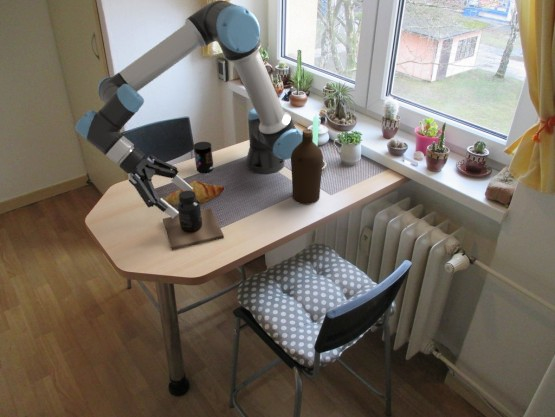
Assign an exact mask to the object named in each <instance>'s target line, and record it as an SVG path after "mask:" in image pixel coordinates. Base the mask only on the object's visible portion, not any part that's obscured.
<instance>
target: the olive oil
mask: <svg viewBox="0 0 555 417" xmlns="http://www.w3.org/2000/svg"><path fill="white" fill-rule="evenodd" d="M313 132H314V131H313V129H309V128H307V129H303V130H302V142H301V143H300V144H299V145H298V146H296V147H295V148H294V150H293V152H292V155H291V159H290V170H291V186H292V192H291V193H292V194H291V195H292V199H293V201H294V202H296V203H298V204H302V205H311V204H312V205H313V204H315V203H317V202H319V200H320V197H321V183H322V173H323V164H324V162H323V161H324V156H323V151H322V150H321V148H320V147H319V146H318V145H317V144H316V143H315V142H314V141H313V140H314V139H313V138H314V137H313V135H314V134H313Z"/></svg>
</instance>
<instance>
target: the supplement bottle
mask: <svg viewBox="0 0 555 417" xmlns="http://www.w3.org/2000/svg"><path fill="white" fill-rule="evenodd" d="M176 206H177V207H176V208H177V211H178V212H179V213H178V214H177V215H179V220H180V226H181V229H182V230H183V231H184V232H188V233H192V232H196V231H198V230H200V229H201V227H202V217H201V210H202V209H201V204H200V203H199V201H198V200H197V199H196V197H195V193H194V192H193V191H183V192H181V193H180V194H179V202H178V205H176Z"/></svg>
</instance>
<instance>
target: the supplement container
mask: <svg viewBox="0 0 555 417" xmlns="http://www.w3.org/2000/svg"><path fill="white" fill-rule="evenodd" d="M192 146H193V154H194V161H195V162H194V163H195V168H196V171H197V172H198V173H199V174H210V173H211V172H213V170H214V167H215V166H214V160H213V158H214V157H213V147H212V143H211V142H209V141H199V142H196V143H194V144H193V145H192Z"/></svg>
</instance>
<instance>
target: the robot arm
mask: <svg viewBox="0 0 555 417" xmlns="http://www.w3.org/2000/svg"><path fill="white" fill-rule="evenodd" d="M260 36H261V27H260V23H259V21H258V18H257V17H256V15H255V14H254V13H252V11H250V10H249V9H247V8H246V7H244V6H242V5H237V4H234V3H232V2H230V1H227V0H215V1H211V2H210V3H207V4H205V5H204V6H203V7H201V8H199V9H198V10H196V12H194V13H193V14H192V15H190V16H188V17H187V18H186V19H185V22H184V24H183V25H182V26H181V27H180V28H178V29H177V30H175V31H174V32H173V33H171V34H170V35H168V36H166V37H165V39H163V40H162V41H160V42H159V43H158V44H156V45H155V46H153V47H152V48H151V49H149V50H148V51H147V52H145V53H144V54H143V55H141V56H139V57H138V58H137V59H135V60H134V61H132V63H130V64H129V65H127V66H126V67H125V68H123V69H122V70H120V71H119V72H117V73H116V74H114V75H113V76H105V77H103V78H102V79H100V80H99V82H98V84H97V93H98V96H99V98H100V100H101V101H102V102H103V103H104V105H103V106H102V107H101V108H100V109H99V110H98V111H94V110H93V109H91V110H88V111H86V113H84V115H83V116H82V117H81V118H80V119H79V120H78V121H77V122H76V124H75V130H76V132H77V133H78V134H79V135H81V137H83V138H84V139H85V141H87V142H88V143H89V144H91V145H92V146H93V147H95V149H98V151H100V152H101V153H102V154H103V155H104V156H106V157H107V158H108V159H110V160H111V161H112V162H113V163H114V164H116V165H118V164H119V166H118V167H119V168H120V169H121V170H123V171H124V172H125V173H126V174H132V176H131V177H130V178H129V179H128V182H129V183H130V184H131V185H132V186H133V187H134V188H135V190H136V191H137V193H138V195H139V196H140V198H141V199H142V201H143V202H144V203H145V205H146V206H147V208H152V207H157V208H158V210H160V211H161V212H163V213H165V214H166V215H167V216H169V217H171V218H172V219H173V218H174V217H175V216H177V215H179V214H178V213H179V212H178V209H176V208H175V207H173V205H172V204H168V203H167V202H166V201H165V200H163V199H164V198H162V197H161V198H160V197H159V196H158V193H157V190H156V189H155V187H154V185H153V182H152V180H153V177H154V176H158V177H164V178H168V179H171V183H173V184H175V186H177V187H178V188H179V189H182V190H183V191H191V190H192V189H193V188H192V187H191V186H190V185H189V183H187V182H186V181H185V179H184V178H183V177H181V176H180V175H179V169H178V168H177V166H174V165H172V164H170V163H168V162H166V161H163V160H161V159H159V158H157V157H156V156H154V155H153V154H150V155H148V156H147V157H146V154H145V153H144V152H143V151H142V150H140V148H139V147H134V146H135V144H134V143H132V142H131V141H130V140H129V139H128V138H127V137H126V136H124V135H123V134H122V133H121V132H120V131H121V130H122V129H123V128H124V126H125V125H126V124H127V123H128V122H129V121H130V120H131V119H132V118H133V116H134V115H135V114H136V113H138V111H139V110H140V108H141V107H142V106H143V105H144V103H145V100H144V97H143V96H142V95H141V94H139V91H140V90H142V89H143V88H144V87H146V86H147V85H148V84H150V83H151V82H153V81H154V80H155V79H157V78H158V77H160V76H161V75H162V74H164V73H165V72H167V71H168V70H170V69H171V68H172V67H174V66H175V65H176V64H177V63H179V62H180V61H181V60H183V59H185V58H186V57H187V56H189V55H190V54H192V53H193V52H194V51H195V50H197V49H198V48H200V47H201V48H206V47H207V46H208V45H209V44H211V43H214V42H216V43H218V45H219V48H220V49H221V51H222V54H223V56H224V57H225V59H226V61H228V62H231V63H233V65H234V68H235V69H236V72H237V74H238V76H239V78H240V81H241V82H242V85H243V86H244V90H245V91H246V93H247V95H248V96H247V97H248V98H249V99H250V102H251V104H252V107H253V108H252V109H249V111H248V112H247V121H248V122H247V123H248V138H249V149H248V152H247V155H246V158H245V163H246V164H245V166H246V168H247V169H248V170H249V171H251V172H252V173H256V174H261V175H262V174H263V175H264V174H265V175H266V174H273V173H277V172H279V171H281V170H282V169H283V168H284V167H285V165H286V164H285V163H286V162H285V161H286V160H291V155H292V152H293V150H294V148H295V147H296V146H298V145H299V144H300V143H301V142H302V134H303V132H301V130H299V129H298V128H297V127H296V126H295V124H294V121H293V119H292V117H291V114H290V112H286V111H284V109H283V106H282V104H281V101H280V99H279V97H278V94H277V92H276V89H275V87H274V84H273V81H272V79H271V77H270V75H269V72H268V70H267V67H266V66H265V63H264V59H263V57H262V56H261V52H260V48H261V47H262V42H261V40H260ZM145 157H146V158H145Z"/></svg>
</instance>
